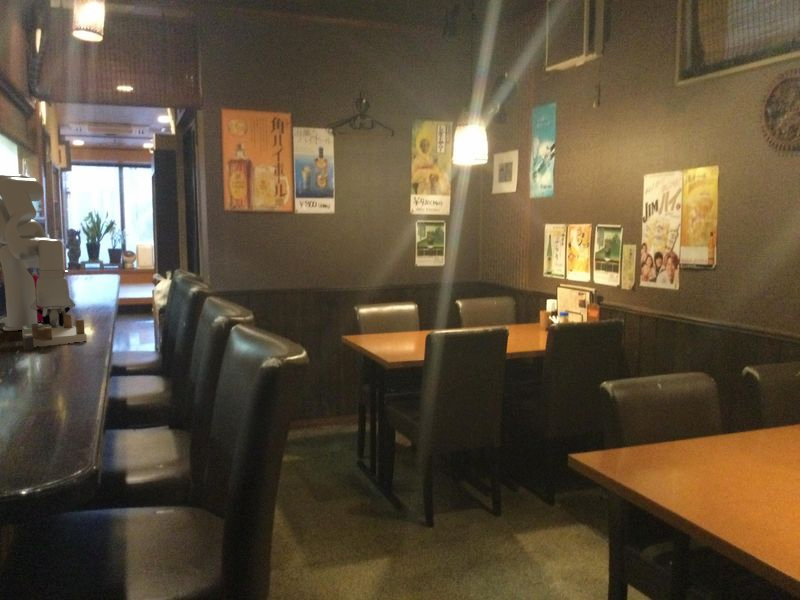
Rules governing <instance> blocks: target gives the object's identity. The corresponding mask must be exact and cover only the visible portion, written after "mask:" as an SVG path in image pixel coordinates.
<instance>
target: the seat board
mask: <svg viewBox="0 0 800 600" xmlns="http://www.w3.org/2000/svg"><path fill="white" fill-rule="evenodd" d="M63 319H64V324H63V327H62V326H61V327H59V328H52V326H50V325H49V324H44V325H43V324H42V325H38V324H32V326H22V331H21V332H22V338H23V339H22V340H23V350H24V351H25V352H29V351H28V350H30V351H34V350H35V348H37V346H39V347H48V346H49V345H50V346H59V344H60V345H68V343H70V344H75V343H74V342H80V343H84V342H83V341H87V334H86V331H85V320H84V319H75V325H73V324H72V314H67V313H66V314H65V315H63ZM32 327H51V331H52V340H48V341H42V340H39V339H36V338H33V330H32Z"/></svg>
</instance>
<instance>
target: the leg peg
mask: <svg viewBox="0 0 800 600" xmlns="http://www.w3.org/2000/svg"><path fill="white" fill-rule="evenodd" d="M60 313H61V312H60V308H59V307H49V308H47V316H48V324H49V325H50V326H52V328H59V327H62V326H61V323H60Z"/></svg>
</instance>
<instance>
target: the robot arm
mask: <svg viewBox="0 0 800 600" xmlns="http://www.w3.org/2000/svg"><path fill="white" fill-rule="evenodd" d="M44 194H45V193H44V187H43V185H42V183H41V182H40V181H39V180H38V179H36V178H34V177H31V176H28V175H24V174H20V173H8V172H0V244H3V246H1V247H0V265H1V268H2V273H3V282H4V283H3V284H4V296H5V305H6V306H5V307H6V316H5V317H1V318H0V324H5V325H4V326H3V327H2V330H3V331H7V332H13V331H14V332H19V331H18V330H22V326H32V324H38V325H44V324H48V316H47V309H49V308H60V323H61V327H64V319H63V315H66V314H67V313H68V312H69V311H70V310H71V309H73V308H75V306H76V304H75V302H74V301H73V300H72V299H71V297H70V291H69V286H68V284H69V283H68V281H67V278H66V277H65V276H68V275H69V274H70V273H69V271H68V270H65V269H64V267H65V266H64V250H63V247H64V246H63V241H62V240H61V239H58V238H49V237H47V235H46V232H45V231H44V228H43V227H42V225H41V223H40V222H39V221H38V220H35V218H36V217H37V210H36V208H35V205H34V204H33V202H40V201H41V200H42V199H43V198H44ZM28 269H38V271H39V273H38V276H40V279H37V282H36V294H35V282H34V279H33V277H32V276H33V275H32V273H30V272H29V270H28ZM37 305H38V306H39V307H41V308H42V310H41V309H39V308H37V307H36V306H37ZM37 312H39V313H40V314H41V315H42V316H43V322H42V323H41V322H40V323H38V322H37Z"/></svg>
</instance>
